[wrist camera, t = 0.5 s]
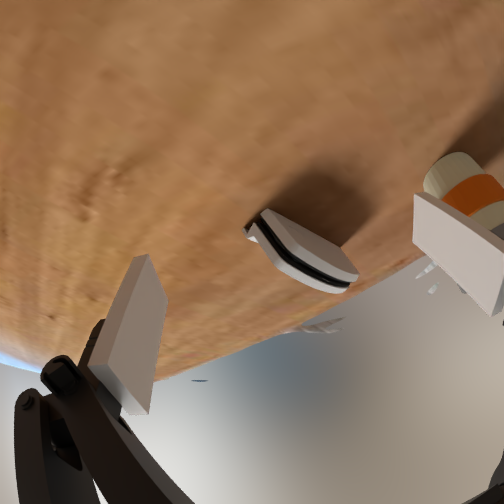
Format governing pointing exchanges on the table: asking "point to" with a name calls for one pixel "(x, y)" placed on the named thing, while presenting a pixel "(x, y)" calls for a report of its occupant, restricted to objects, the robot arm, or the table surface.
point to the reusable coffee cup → (467, 191)
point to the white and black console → (302, 253)
